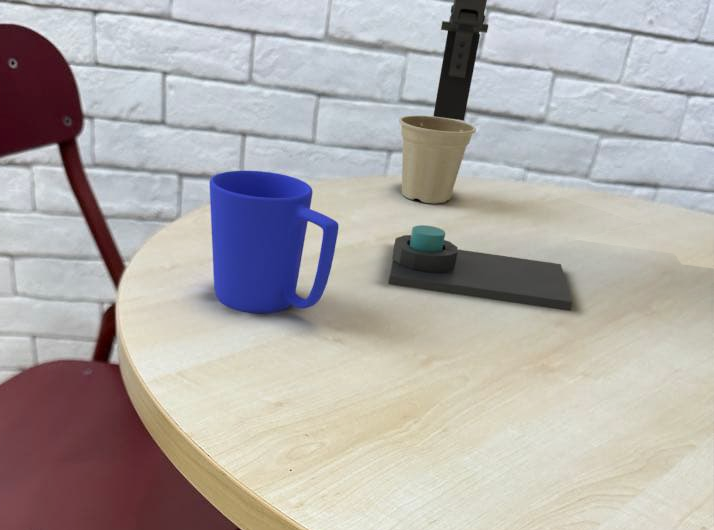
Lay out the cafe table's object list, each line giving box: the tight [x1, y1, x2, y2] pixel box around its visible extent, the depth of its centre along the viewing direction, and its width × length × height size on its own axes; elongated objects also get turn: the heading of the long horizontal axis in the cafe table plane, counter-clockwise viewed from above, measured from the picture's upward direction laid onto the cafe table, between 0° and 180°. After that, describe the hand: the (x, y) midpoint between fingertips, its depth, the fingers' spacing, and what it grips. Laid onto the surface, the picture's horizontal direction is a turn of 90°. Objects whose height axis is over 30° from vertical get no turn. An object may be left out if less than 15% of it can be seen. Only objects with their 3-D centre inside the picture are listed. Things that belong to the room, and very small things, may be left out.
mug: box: [208, 170, 339, 314], centre depth 69 cm, size 8×12×10 cm
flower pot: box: [398, 114, 477, 204], centre depth 105 cm, size 9×9×9 cm
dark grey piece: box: [387, 234, 573, 311], centre depth 82 cm, size 17×11×3 cm, turn 82°
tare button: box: [409, 224, 446, 252], centre depth 82 cm, size 3×3×2 cm
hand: (448, 116), depth 75 cm, fingers closed
